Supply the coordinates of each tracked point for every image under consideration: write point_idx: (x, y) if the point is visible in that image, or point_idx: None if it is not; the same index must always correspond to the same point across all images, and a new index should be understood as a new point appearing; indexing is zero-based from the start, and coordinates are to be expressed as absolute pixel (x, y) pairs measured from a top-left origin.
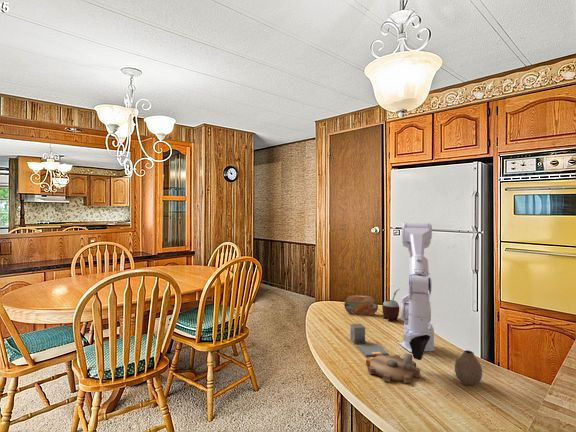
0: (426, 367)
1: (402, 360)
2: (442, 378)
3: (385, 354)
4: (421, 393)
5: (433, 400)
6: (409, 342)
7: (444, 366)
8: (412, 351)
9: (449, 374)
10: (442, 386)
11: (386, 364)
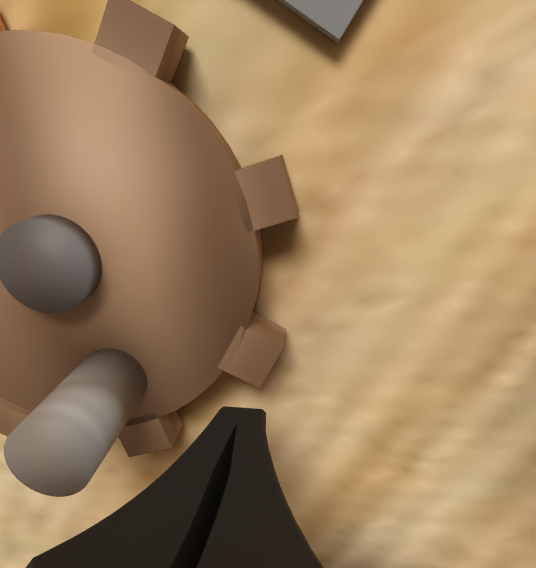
0: (347, 406)
1: (211, 284)
2: None
3: (308, 18)
4: (7, 490)
5: (6, 545)
6: (104, 525)
7: (462, 486)
8: (193, 447)
9: (357, 534)
10: None
11: (18, 219)
